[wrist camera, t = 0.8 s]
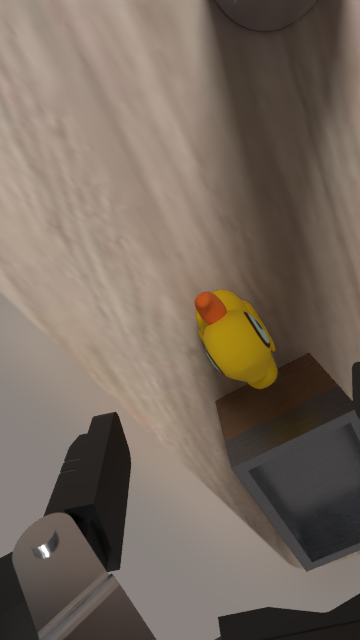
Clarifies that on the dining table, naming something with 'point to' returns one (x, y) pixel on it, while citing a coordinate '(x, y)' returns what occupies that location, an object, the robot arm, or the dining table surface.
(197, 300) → the duckling
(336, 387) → the gray rectangular tray
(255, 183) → the dining table surface
